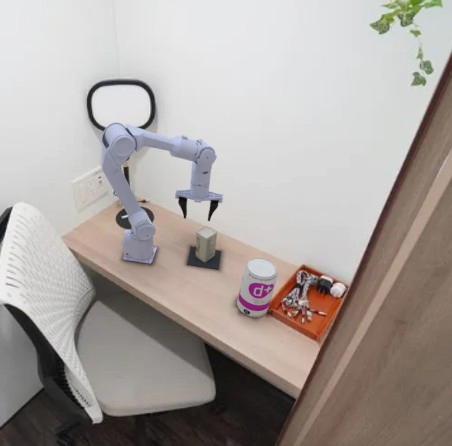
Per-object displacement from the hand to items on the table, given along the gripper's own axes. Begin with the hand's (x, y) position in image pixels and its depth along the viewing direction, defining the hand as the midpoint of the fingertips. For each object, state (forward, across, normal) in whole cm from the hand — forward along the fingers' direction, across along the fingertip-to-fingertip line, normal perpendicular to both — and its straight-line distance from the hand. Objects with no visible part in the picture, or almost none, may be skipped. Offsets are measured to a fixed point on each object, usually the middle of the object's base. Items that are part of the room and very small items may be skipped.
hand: (197, 218), depth 109 cm
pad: (+10, +4, -7) cm, 13 cm away
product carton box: (+10, +4, -7) cm, 13 cm away
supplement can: (+11, +18, -25) cm, 32 cm away
